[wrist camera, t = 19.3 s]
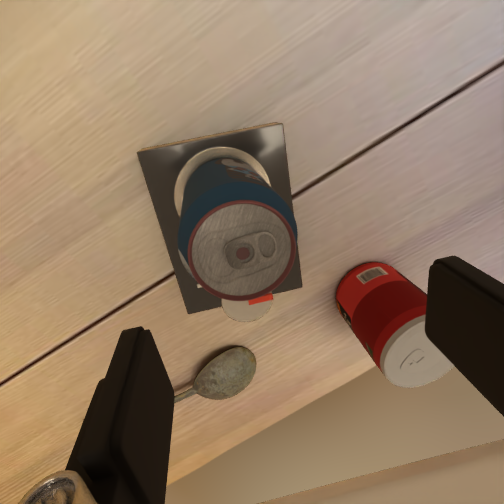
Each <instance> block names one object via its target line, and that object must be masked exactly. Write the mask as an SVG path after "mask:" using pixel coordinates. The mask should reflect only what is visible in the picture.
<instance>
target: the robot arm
mask: <svg viewBox="0 0 504 504" xmlns="http://www.w3.org/2000/svg"><path fill="white" fill-rule="evenodd" d="M425 333H426V336H427V338H428V339H429V340H430V341H431V342H432V343H433V344H434V345H435V346H436V347H437V348H438V349H439V350H440V351H441V352H442V353H443V355H444V356H445V357H446V358H447V359H448V360H449V361H450V362H451V363H452V364H453V365H454V366H455V367H456V368H457V369H458V370H459V371H460V372H461V373H462V374H463V375H464V376H465V377H466V378H467V379H468V380H469V381H470V382H471V383H472V384H473V385H474V386H475V387H476V388H477V390H478V391H479V392H480V393H481V394H482V395H483V396H484V397H485V398H486V399H487V400H488V401H489V402H490V403H491V404H492V405H493V406H494V407H495V408H496V409H497V410H498V411H499V412H500V413H501V414H502V415H503V416H504V284H503V283H501V282H499V281H498V280H496V279H494V278H493V277H491V276H489V275H487V274H486V273H484V272H482V271H481V270H479V269H477V268H476V267H474V266H472V265H471V264H469V263H467V262H465V261H464V260H462V259H460V258H459V257H457V256H449V257H445V258H441V259H437V260H435V261H434V263H433V265H431V266H430V269H429V279H428V291H427V304H426V316H425ZM174 401H175V397H174V390H173V387H172V385H171V382H170V379H169V377H168V374H167V372H166V369H165V367H164V364H163V362H162V359H161V357H160V354H159V352H158V349H157V346H156V344H155V341H154V339H153V336H152V334H151V332H150V330H144V328H143V327H141V326H140V327H136V328H131V329H127V330H123V331H122V333H121V335H120V338H119V341H118V343H117V346H116V349H115V352H114V354H113V357H112V360H111V363H110V366H109V368H108V371H107V374H106V377H105V378H104V379H102V380H100V381H99V383H98V385H97V387H96V390H95V392H94V395H93V398H92V400H91V403H90V406H89V408H88V411H87V413H86V416H85V419H84V421H83V424H82V427H81V429H80V432H79V435H78V437H77V440H76V442H75V445H74V448H73V450H72V453H71V456H70V458H69V461H68V463H67V466H66V469H65V470H63V471H58V472H55V473H53V474H51V475H49V476H47V477H45V478H44V479H42V480H41V481H39V482H38V483H37V484H35V485H34V486H33V487H32V488H31V489H30V490H29V491H28V492H27V493H26V494H25V495H24V497H23V498H22V499H21V500H20V502H19V503H18V504H165V494H166V483H167V473H168V463H169V453H170V442H171V432H172V422H173V411H174ZM257 504H504V439H502V440H498V441H494V442H490V443H486V444H482V445H478V446H474V447H470V448H466V449H462V450H459V451H455V452H451V453H447V454H443V455H440V456H435V457H432V458H428V459H424V460H420V461H416V462H412V463H408V464H405V465H401V466H397V467H393V468H389V469H386V470H382V471H378V472H374V473H370V474H367V475H363V476H359V477H355V478H351V479H347V480H344V481H340V482H336V483H332V484H328V485H325V486H321V487H317V488H314V489H310V490H306V491H302V492H299V493H295V494H291V495H287V496H283V497H280V498H276V499H272V500H269V501H265V502H261V503H257Z"/></svg>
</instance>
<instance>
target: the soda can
mask: <svg viewBox="0 0 504 504" xmlns="http://www.w3.org/2000/svg"><path fill="white" fill-rule="evenodd" d="M177 243H178V251H179V255H180V258H181V261H182V263H183V265H184V267H185V268H186V270H187V271H188V272H189V274H190V275H191V276H192V277H193V278H194V279H195V280H196V281H197V282H198V283H199V284H200V285H201V287H203V288H204V289H205V290H206V291H208V292H209V293H211V294H212V295H214V296H217V297H219V298H222V299H225V300H230V301H248V300H253V299H256V298H259V297H262V296H264V295H266V294H268V293H269V292H271V291H273V290H274V289H275V288H277V287H278V286H279V285H280V284H281V283H282V282H283V281H284V279H285V278H286V277H287V275H288V274H289V272H290V270H291V268H292V266H293V263H294V260H295V254H296V246H297V225H296V221H295V218H294V215H293V213H292V211H291V209H290V208H289V206H288V205H287V203H286V202H285V201H284V200H283V199H282V198H281V197H280V196H279V195H278V194H277V193H276V192H275V191H274V189H273V188H272V187H271V186H270V185H269V184H268V183H267V182H266V181H265V180H264V179H263V178H262V177H261V176H260V175H259V174H258V173H257V172H256V171H255V170H254V169H253V168H252V167H251V166H249V165H248V164H246V163H244V162H242V161H239V160H235V159H229V158H222V159H216V160H212V161H209V162H207V163H205V164H203V165H202V166H200V167H199V168H198V169H197V170H195V172H194V173H193V174H192V175H191V176H190V178H189V180H188V181H187V183H186V186H185V189H184V194H183V200H182V208H181V215H180V222H179V229H178V238H177Z"/></svg>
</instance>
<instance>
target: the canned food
mask: <svg viewBox="0 0 504 504" xmlns="http://www.w3.org/2000/svg"><path fill="white" fill-rule="evenodd" d="M336 302H337V307H338V310H339V312H340V314H341V315H342V317H343V318H344V319H345V321H346V322H347V324H348V325H349V327H350V328H351V329H352V331H353V332H354V334H355V335H356V337H357V338H358V339H359V341H360V342H361V344H362V345H363V347H364V348H365V349H366V351H367V352H368V354H369V355H370V357H371V358H372V359H373V361H374V362H375V364H376V365H377V366H378V368H379V369H380V370H381V372H382V373H383V374H384V375H385V377H386V378H387V379H388V380H389V381H390V382H391V383H393V384H394V385H396V386H399V387H405V388H412V387H419V386H423V385H426V384H429V383H431V382H433V381H435V380H437V379H439V378H440V377H442V376H443V375H444V374H446V373H447V372H448V371H450V369H452V368H453V367H454V365H453V364H452V363H451V362H450V361H449V360H448V359H447V358H446V357H445V356H444V355H443V353H442V352H441V351H440V350H439V349H438V348H437V347H436V346H435V345H434V344H433V343H432V342H431V341H430V340H429V339H428V338H427V336H426V333H425V316H426V304H427V294H426V293H425V292H423V291H422V290H421V289H419V288H418V287H417V286H416V285H414V284H413V283H412V282H411V281H409V280H408V279H407V278H406V277H404V276H403V275H402V274H400V273H399V272H398V271H397V270H395V269H394V268H393V267H391V266H389V265H387V264H383V263H378V262H370V263H365V264H362V265H360V266H358V267H356V268H354V269H353V270H351V271H350V272H349V273H348V274H347V275H346V276H345V277H344V278H343V279H342V281H341V282H340V284H339V286H338V288H337V292H336Z"/></svg>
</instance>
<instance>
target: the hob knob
mask: <svg viewBox="0 0 504 504" xmlns="http://www.w3.org/2000/svg"><path fill="white" fill-rule="evenodd" d="M272 300H273V295H272V291H271V292H269V293H268V294H266V295H264V296H262V297H259V298H256V299H253V300H248V301H230V300H225V299H222V298H221V303H222V308H223V310H224V312H225V313H226V314H227V315H228V316H229V317H230V318H231V319H233V320H236V321H239V322H250V321H254V320H257V319H259V318H261V317H262V316H264V315H265V314H266V313H267V312H268V310H269V309H270V307H271V304H272Z"/></svg>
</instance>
